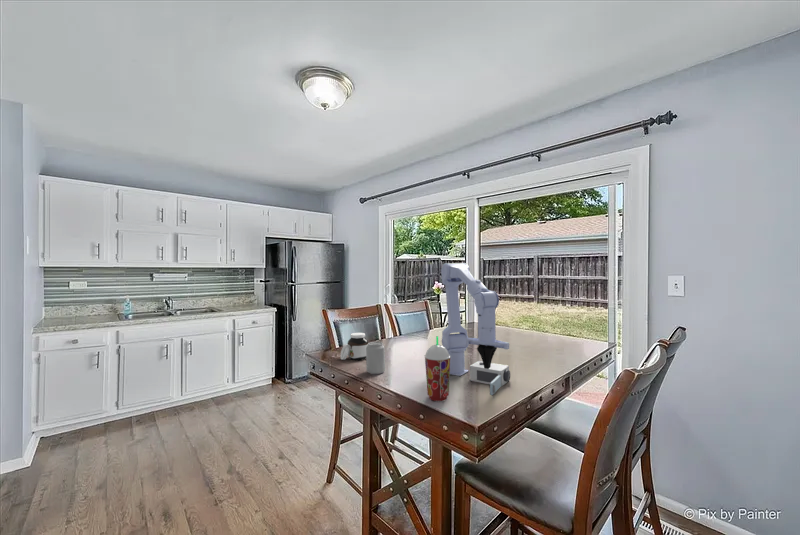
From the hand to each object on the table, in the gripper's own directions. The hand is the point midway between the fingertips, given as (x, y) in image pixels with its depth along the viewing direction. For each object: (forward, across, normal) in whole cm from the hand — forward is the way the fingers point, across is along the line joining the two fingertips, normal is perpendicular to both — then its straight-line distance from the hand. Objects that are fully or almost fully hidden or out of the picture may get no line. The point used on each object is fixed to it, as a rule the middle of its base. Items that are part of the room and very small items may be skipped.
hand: (487, 367), depth 114 cm
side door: (+8, +2, +3) cm, 9 cm away
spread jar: (+9, -68, +6) cm, 69 cm away
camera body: (+8, -4, +12) cm, 16 cm away
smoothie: (+9, -11, -14) cm, 20 cm away
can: (+9, -46, -4) cm, 47 cm away
